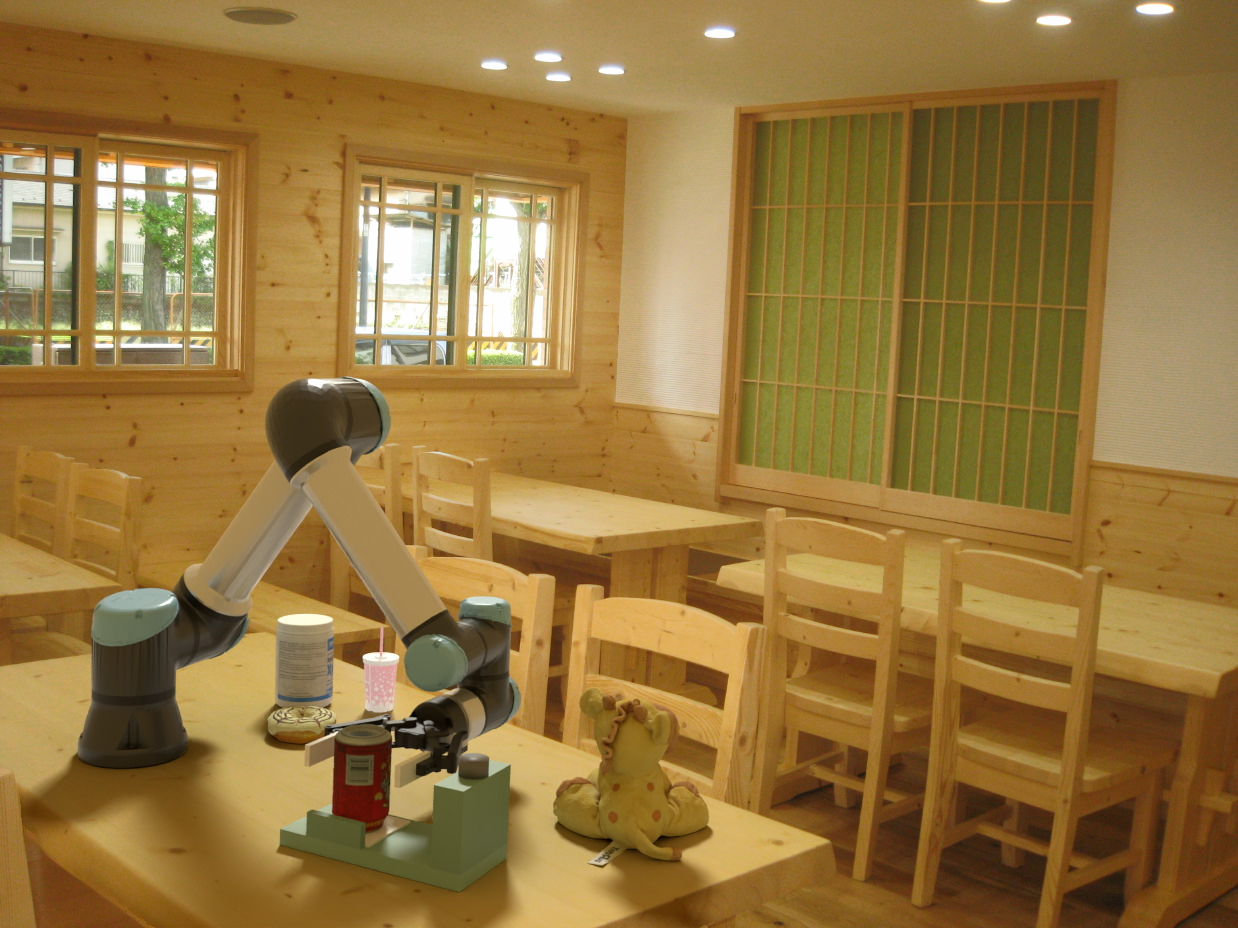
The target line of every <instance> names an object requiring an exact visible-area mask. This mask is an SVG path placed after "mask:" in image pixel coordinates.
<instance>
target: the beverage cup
mask: <svg viewBox="0 0 1238 928" xmlns="http://www.w3.org/2000/svg"><path fill="white" fill-rule="evenodd" d="M379 635H380V636H379V637H380V639H379V652H370V653H365V654H363V656H362V663H363V664H364V665H363V669H364V670H363V671H364V672H363V673H364V699H365V700H364V701H365V702H364V703H365V709H366V711H368V712H370V711H373V712H372V713H386V712H387V711H388V712H390V711H393V709H394V701H395V691H396V681H397V673H398V671H397V670H398V664H399V662H400V656H399V655H398V654H396V653H393V652H384V627H380V634H379ZM388 712H387V713H388Z"/></svg>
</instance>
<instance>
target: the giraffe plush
mask: <svg viewBox="0 0 1238 928" xmlns="http://www.w3.org/2000/svg"><path fill="white" fill-rule="evenodd" d="M578 703H579V708H580V710H581V712H582V713H583V714H584V715H586V716H587V717H588V718H591V719H593V720H595V721H594V724H593V730H594V731H593V733H594V738H595V742H596V745H597V746H596V747H597V749H598V751H599V753H600V755H601V762H600V763H599V765H598V767H597V768H595V769H593V770H592V771H591V772H589V774H588V775H587V777H586V778H584V777H582V776H576V777H574V778H572V779H565V780H563V781H562V782H561V784H559V786H558V788H557V789H556V792H555V796H556V797H555V799H554V800H553V801H554V802H553V804H552V805H553V807H552V808H553V809H552V813H553V815H554V816H556V818H557V821H558V822H559V824H561V825H562V826H563V827H564V828H566V829H567V830H569V831H571V832H573V833H575V834H578V835H580V836H584V837H587V838H589V839H590V838H591V839H604V840H605V839H611V840H612V841H611V842H610V843H609V844H608V845H607V846H606V847H604V849H602V850H601V851H600V852H599V853H598V854H597V855H595V856H594V857H593V858H591V859H589V860H588V862H587V865H594V866H598V867H599V866H600V867H601V866H603V867H604V866H605V865H606V864H609V863H611V862H613V861H614V859H616V858H618V857H619V856H620V855H621V854H623V853H624V852H626V850H627V849H628V850H630V849H631V850H633V849H634V850H638V851H639V852H640V853H641V854H643V855H645V856H648V857H650V858H652V859H657V860H660V861H670V862H676V861H679V860H680V859H681V858H682V857H683V851H682V849H680V848H678V847H674V846H671V847H670V846H666V847H665V846H664V847H659V846H656V845H655V844H654V843H655V842H656V841H657V840H658V838H659V837H661V836H663V837H681V836H686V835H688V834H689V835H690V834H693V833H695V832H697V831H699V830H702V829H704V828H706V827H707V826H708V824H709V821H710V813H709V809H708V805H707V803H706V802H705V800H704V799H703V797H702V796H701V795H700V793H699V789H698V787H697V786H696V785H695V784H694V783H692V782H691V781H687V780H684V781H679V782H675V783H672V781H671V780H670V778H669V775H668V774H667V772H666V771H665V770H664V769H663V768H662V766H661V764H660V762H661V760H662V759H663V757H664V755H668V754H669V753H670V752H672V751H674V749H675V748H676V746H677V744H678V740H679V738H680V725H679V720H678V718H677V715H676V714H675V712H673V710H672V709H670V708H669V707H668V706H666V705H664V704H658V703H654V702H651V701H650V700H648V699H644V698H640V697H639V698H635V697H632V698H624V699H621V700H618V701H616V698H615V697H614V696H613V695H612V694H608V693H606V694H605V695H604V692H603V691H602V690H601V689H600V688H599V687H596V686H590V687H589V688H587V689H586V690H584V691H583V692H582V693H581V695H580V698H579V702H578Z"/></svg>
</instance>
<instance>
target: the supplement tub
mask: <svg viewBox="0 0 1238 928" xmlns="http://www.w3.org/2000/svg"><path fill="white" fill-rule="evenodd" d="M276 623H277V624H276V631H275V682H274V683H275V687H274V689H275V690H274V692H275V693H274V695H275V698H274V700H275V703H276V705H277V706H279V707H280V708H281V709H282V708H285V707H289V706H318V707H322V708H326V707H327V706H329V705H330V704H331V703H332V701H333V696H334V695H333V694H334V691H333V690H334V689H333V688H334V650H335V649H334V648H335V647H334V646H335V644H334V643H335V626H334V618H333V617H331V616H329V615H324V614H318V613H317V614H315V613H300V614H299V613H297V614H296V613H295V614H288V615H284V616H281V617H279V618H278V619H277V622H276Z"/></svg>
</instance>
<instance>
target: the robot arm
mask: <svg viewBox="0 0 1238 928" xmlns="http://www.w3.org/2000/svg"><path fill="white" fill-rule="evenodd" d="M268 403H269V404H268V405H267V408H266V412H265V417H264V428H265V429H264V430H265V436H266V440H267V444H268V446H269V450H270V451H271V454H272V456H273V458H274V460H273V462H272V463H271V465H270V466H269V467H268V468H267V470H266V472H265V473H264V474H263V476H262V478H260V481H259V482H258V483H257V485H256V486H255V488H254V489H253V490H252V492H251V493H250V495H249V496H248V498H247V499H246V500H245V502H244V503H243V505H242V506H241V508H240V509H239V511H238V513H236V515H235V517H234V518H233V519H232V521H231V522H230V524H229V525H228V527H227V528H226V529H225V531H224V532H223V534H222V535H221V537H220V538H219V540H218V541H217V542H216V543H215V545H214V547H213V548H212V550H211V551H210V552H209V554H208V556H207V557H206V558H205V560H204V561H203V563H202V562H201V563H194V564H191V565H189V566H188V567H187V568H186V569H185V571H184V572H183V574H182V575H181V576H180V577H179V579H178V581H176V584H175V585H174V587H173V588H172V589H171V590H167V589H164V588H157V587H150V588H149V587H146V588H135V589H133V590H129V589H128V590H127V589H126V590H122V591H118V592H115V593H113V594H110V595H108V596H105V597H103V599H101V600H99V601H98V602H97V604H96V605H95V607H94V609H93V612H92V613H93V614H92V624H91V626H90V636H91V697H90V699H91V700H90V701H91V702H90V706H89V709H88V713H87V715H86V717H85V721H84V726H83V730H82V731H81V733H80V734H79V737H78V739H77V757H78V758H79V759H80V760H81V761H82V762H84V763H86V764H89V765H92V766H96V767H102V768H103V767H104V768H111V769H115V768H117V769H119V768H121V769H123V768H124V769H126V768H142V767H148V766H149V767H150V766H153V765H159V764H163V763H166V762H170V761H173V760H175V759H178V758H179V757H181V756H182V755H183V754H185V753H186V752H187V750H188V732H187V729H186V728H185V726H184V724H183V718H182V715H181V710H180V707H179V705H178V701H177V698H176V697H177V695H176V693H177V692H176V691H177V689H176V686H177V670H181V669H184V668H186V667H189V666H191V665H194V664H197V663H200V662H203V661H205V660H206V661H207V660H211V659H215V658H217V657H220V656H222V655H224V654H225V653H228V652H229V651H230V650H232V649H233V648H234V647H237V645H239V643H240V642H241V641H242V640H243V638H244V636H246V635H245V634H246V633H247V631H248V628H249V624H250V617H249V615H248V614H249V613H250V611H251V610H252V608H253V604H254V603H253V598H252V595H251V593H252V592H253V590H254V589H255V588H256V586H257V585H258V583H260V581H261V579H262V578H263V576H264V575H265V573H266V572H267V570H268V569H269V568H270V567H271V565H272V564H273V562H274V561H275V560H276V558H277V557H278V556H279V554H280V553H281V551H282V550H283V548H284V547H285V546H286V544H287V543H288V542H289V540H290V539H291V537H292V536H293V534H294V532H296V530H297V529H298V527H299V526H300V524H301V523H302V522H303V520H304V519H305V518H306V517H307V514H309V513H310V511H311V509H312V508H314V509H315V511H316V513H317V514H318V515H319V517H320V518H321V520H322V521H323V524H325V526H326V527H327V529H328V531H329V532H330V534H331V535H332V537H333V538H334V540H335V541H336V543H337V544H338V546H339V548H340V549H341V551H342V552H343V553H344V555H345V556H346V558H347V561H349V563H350V564H351V566H352V567H353V569H354V570H355V572H356V573H357V575H358V576H359V579H360V580H361V581H362V583H363V584H364V586H365V587H366V589H367V590H368V592H369V593H370V595H371V596H372V598H373V600H374V601H375V603H376V605H378V607H379V608H380V610H381V612H382V613H383V614H384V616H385V618H386V620H387V621H388V622H389V625H391V628H393V630H394V631H395V633H396V634H397V636H398V638H399V639H400V641H401V643H402V644H403V646H404V648H405V649H406V651H405V654H404V657H403V663H404V672H405V674H406V676H407V678H408V680H409V681H410V682H411V684H412V685H414V686H415V687H416V688H417V689H419V690H421V691H423V692H429V693H430V692H431V693H433V692H435V693H436V692H439V691H443V690H444V689H448V688H450V687H451V688H452V687H453V686H454V687H456V686H457V687H456V688H454V689H451V690H449V691H447V692H444V693H442V694H439V695H437V696H434V697H432V698H430V699H428V700H426V701H425V700H424V701H423V702H421V703H420V704H418V705H417V706H416V707H415V708H414V709H413V710H412V711H411V713H410V715H409V716H408V717H404V718H403V719H395V720H391V715H390V714H388V713H385V714H381V715H379V716H375V717H371V718H364V719H359V720H352V721H346V722H339V723H336V724H332V725H327V726H325V731H324V737H323V738H320V739H318V740H316V741H313V742H310V743H305V744H304V767H308V768H310V767H312V766H314V765H317V764H319V763H322V762H324V761H326V760H328V759H330V758H334V738H335V735H336V734H337V732H339V731H340V730H342V729H343V728H345V727H348V726H351V725H361V724H373V725H377V726H381V727H384V729H386V730H387V731H389V732H390V734H391V735H392V732H394V733H393V736H394V741H392V749H400V748H402V749H403V748H404V749H405V750H409V749H413V750H416V751H417V750H419V751H421V752H420V753H418V754H416V755H414V756H412V757H409V758H408V759H405V760H404V761H402V762H400V763H397V764H395V766H394V788H397V789H401V788H403V787H405V786H407V785H409V784H410V783H413V782H414V781H417V780H418V779H420V778H422V777H426V776H428V775H431V773H441V772H442V770H445V771H446V773H447V774H450V775H453V774H455V773H457V772H458V767H459V756H461V755H463V754H465V753H466V752H467V751H468V750H469V746H468V745H469V741H472V740H474V739H476V738H478V737H480V736H482V735H484V734H487V733H489V732H490V731H494V730H496V729H498V728H500V727H502V726H505V724H506V723H507V722H509V721H510V720H511V719H513V718H514V717H515V716H516V715H517V714H518V711H519V710H520V707H521V704H522V694H521V692H520V691H521V690H520V689H519V687H518V684H517V682H516V681H515V679H514V678H512V676H510V665H511V664H510V663H511V661H510V660H511V644H512V643H511V641H512V640H511V638H512V628H513V624H512V607H511V604H510V602H509V601H507V600H506V599H503V598H500V597H496V596H481V595H480V596H479V595H478V596H472V597H471V596H470V597H466V598H464V599H462V601H461V602H460V604H459V611H458V616H457V618H458V621H456V620H455V618H454V616H452V613H451V612H450V611H449V610H448V608H447V607H446V605H445V604H444V602H443V601H442V599H441V598H440V596H439V594H438V593H437V592H436V590H435V588H434V587H433V586H432V583H431V582H430V580H429V579H428V577H427V576H426V574H425V572H423V570H422V569H421V567H420V565H419V564H418V562H417V561H416V559H415V558H414V556H413V555H412V553H411V551H410V550H409V549H408V547H407V546H406V544H405V542H404V541H403V539H402V537H401V536H400V535H399V533H398V532H397V530H396V529H395V527H394V525H393V524H392V523H391V521H390V519H389V518H388V516H387V515H386V513H385V512H384V510H383V509H382V507H381V506H380V504H379V503H378V500H376V498H375V496H374V495H373V493H372V492H371V490H370V489H369V487H368V485H367V484H366V482H365V481H364V479H363V478H362V476H361V475H360V473H359V471H358V470H357V469H356V467H355V466H356V465H357V463H358V462H359V460H360V459H361V457H362V456H364V455H369V454H371V453H374V452H375V451H376V450H378V449H379V448H380V447H382V445H383V444H384V443H385V441H386V440H387V439H388V437H389V433H390V431H391V425H392V424H391V423H392V417H391V413H390V405H389V404H388V402H387V400H386V397H385V396H384V394H383V393H382V392H381V390H380V389H379V388H377V387H376V386H375V385H374V384H372V383H371V382H369V381H367V380H364V379H361V378H355V377H351V376H341V377H336V378H335V377H333V378H332V377H331V378H330V377H328V378H326V377H325V378H314V377H313V378H312V377H311V378H310V377H309V378H308V377H307V378H306V377H305V378H299V379H296V380H293V381H291V382H288V383H287V384H285V385H284V386H282V387H280V388H279V389H278V390H277V392H276V393H275V394H274V395H273V396H272V398H271V399H270V401H269V402H268Z"/></svg>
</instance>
